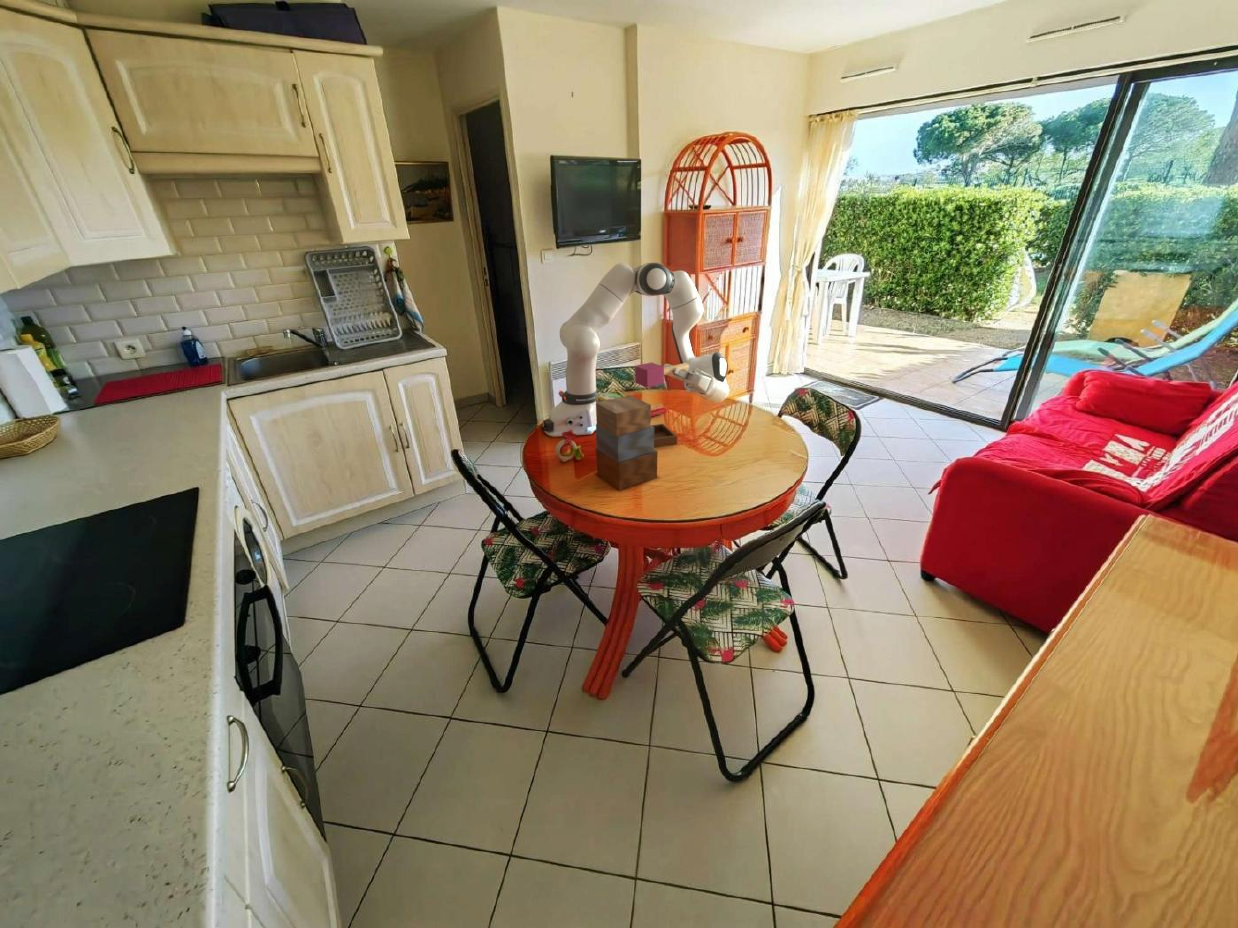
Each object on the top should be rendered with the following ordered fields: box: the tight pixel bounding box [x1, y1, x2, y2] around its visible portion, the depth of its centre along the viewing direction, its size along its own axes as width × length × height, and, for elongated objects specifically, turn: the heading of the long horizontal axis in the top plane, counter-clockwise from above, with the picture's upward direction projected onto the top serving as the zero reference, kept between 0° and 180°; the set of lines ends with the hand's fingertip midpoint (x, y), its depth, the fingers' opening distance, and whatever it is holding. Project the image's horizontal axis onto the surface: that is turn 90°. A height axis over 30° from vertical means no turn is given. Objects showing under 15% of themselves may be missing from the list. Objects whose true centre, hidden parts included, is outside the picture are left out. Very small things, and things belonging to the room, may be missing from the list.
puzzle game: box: [598, 390, 627, 402], centre depth 213 cm, size 12×5×20 cm
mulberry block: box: [634, 361, 689, 389], centre depth 176 cm, size 20×7×6 cm, turn 124°
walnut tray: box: [651, 423, 678, 448], centre depth 183 cm, size 17×13×3 cm
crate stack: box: [595, 394, 658, 491], centre depth 154 cm, size 14×13×24 cm
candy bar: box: [651, 406, 669, 417], centre depth 204 cm, size 16×4×3 cm, turn 123°
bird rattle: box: [555, 430, 585, 463], centre depth 168 cm, size 6×11×9 cm
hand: (670, 368), depth 177 cm, fingers closed on mulberry block, 2 cm apart
